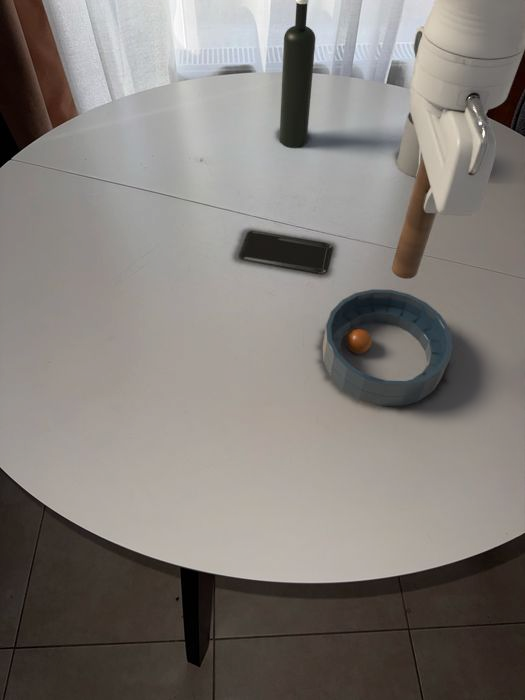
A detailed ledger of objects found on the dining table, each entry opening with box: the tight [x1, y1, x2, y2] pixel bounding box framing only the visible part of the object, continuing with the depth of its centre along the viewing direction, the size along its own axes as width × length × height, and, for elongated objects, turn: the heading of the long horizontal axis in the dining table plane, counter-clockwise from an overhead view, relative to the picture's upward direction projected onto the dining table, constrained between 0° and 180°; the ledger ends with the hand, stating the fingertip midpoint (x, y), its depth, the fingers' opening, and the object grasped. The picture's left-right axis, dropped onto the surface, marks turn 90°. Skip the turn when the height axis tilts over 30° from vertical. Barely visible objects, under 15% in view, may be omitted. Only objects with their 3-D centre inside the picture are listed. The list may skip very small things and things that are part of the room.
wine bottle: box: [279, 0, 316, 149], centre depth 110 cm, size 6×6×30 cm
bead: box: [346, 328, 373, 355], centre depth 85 cm, size 4×4×4 cm
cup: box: [396, 111, 420, 178], centre depth 113 cm, size 8×8×10 cm
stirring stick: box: [391, 157, 437, 280], centre depth 66 cm, size 3×3×16 cm
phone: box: [237, 229, 333, 275], centre depth 99 cm, size 8×1×15 cm
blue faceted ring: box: [322, 288, 454, 407], centre depth 83 cm, size 17×17×6 cm
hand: (427, 195), depth 64 cm, fingers closed on stirring stick, 3 cm apart
